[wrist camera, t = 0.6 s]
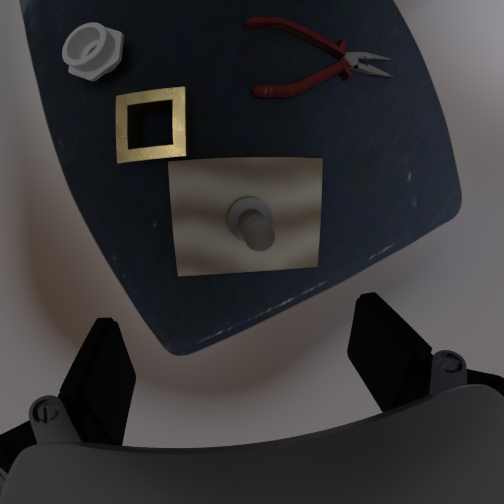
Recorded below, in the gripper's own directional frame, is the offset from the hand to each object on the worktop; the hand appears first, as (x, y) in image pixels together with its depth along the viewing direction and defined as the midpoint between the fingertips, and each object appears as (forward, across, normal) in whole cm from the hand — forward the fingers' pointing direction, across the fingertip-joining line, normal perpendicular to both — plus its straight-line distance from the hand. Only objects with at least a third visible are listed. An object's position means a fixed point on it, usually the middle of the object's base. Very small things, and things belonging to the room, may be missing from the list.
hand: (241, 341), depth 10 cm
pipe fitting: (+25, +13, -20) cm, 35 cm away
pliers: (+26, -13, -18) cm, 34 cm away
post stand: (+25, -3, +1) cm, 25 cm away
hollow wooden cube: (+25, +6, -10) cm, 28 cm away
